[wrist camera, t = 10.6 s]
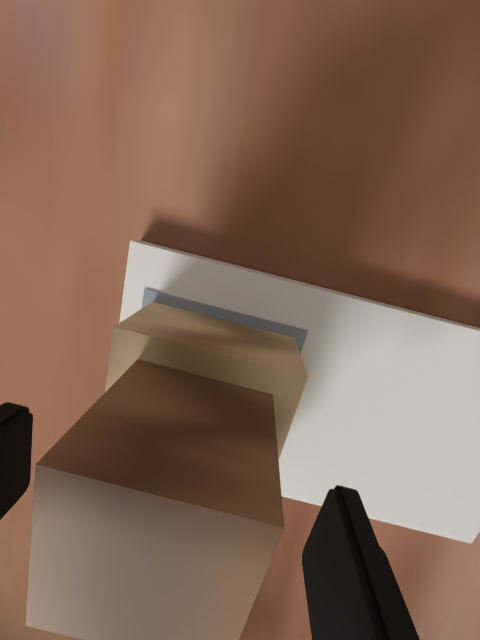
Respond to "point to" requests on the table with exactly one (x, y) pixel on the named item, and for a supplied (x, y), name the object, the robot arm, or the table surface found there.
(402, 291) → the table surface
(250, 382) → the oak base block
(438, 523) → the board
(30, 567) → the walnut cube
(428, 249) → the table surface
